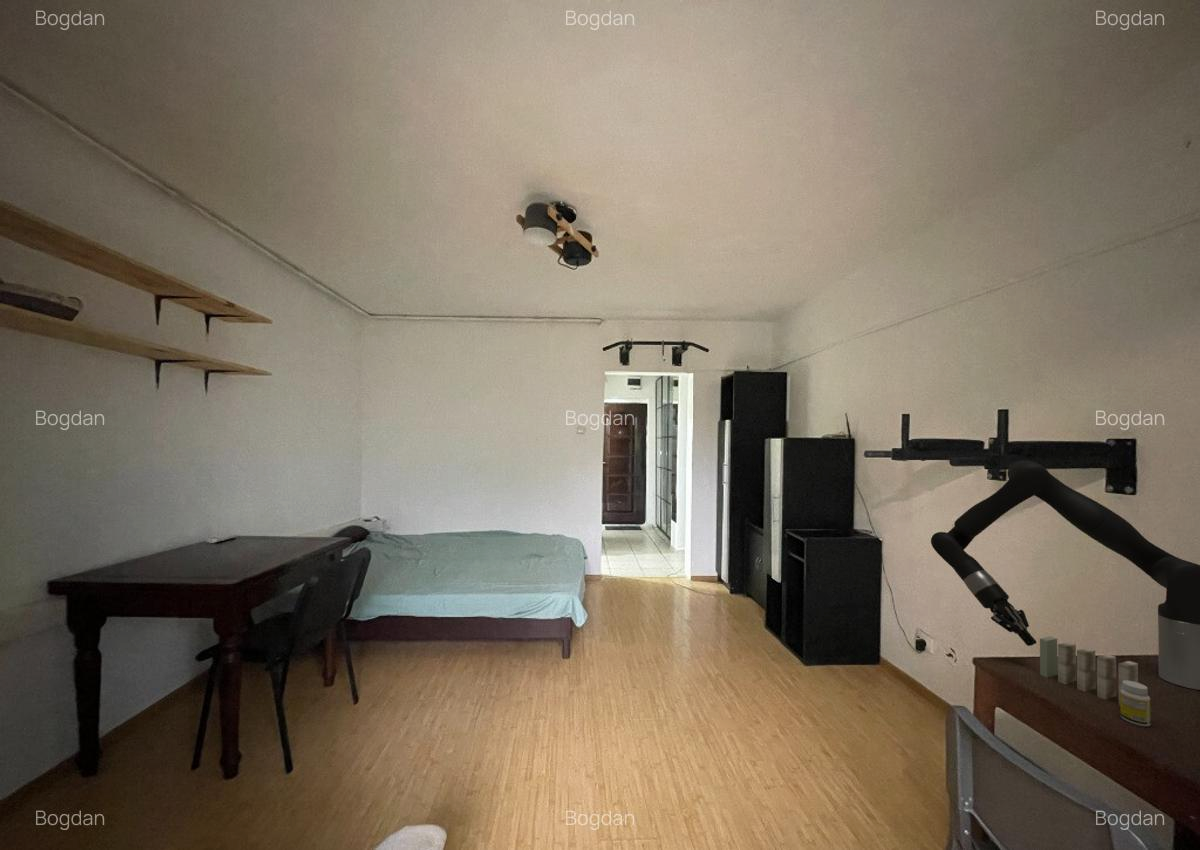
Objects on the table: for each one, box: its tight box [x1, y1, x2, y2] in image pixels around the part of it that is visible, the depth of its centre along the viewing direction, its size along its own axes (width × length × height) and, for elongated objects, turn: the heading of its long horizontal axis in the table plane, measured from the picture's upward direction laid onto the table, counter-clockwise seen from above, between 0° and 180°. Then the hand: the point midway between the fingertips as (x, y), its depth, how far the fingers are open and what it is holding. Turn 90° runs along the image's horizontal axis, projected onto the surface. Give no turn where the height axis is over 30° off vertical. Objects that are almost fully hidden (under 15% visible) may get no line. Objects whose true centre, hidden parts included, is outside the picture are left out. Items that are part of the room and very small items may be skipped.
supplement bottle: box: [1119, 680, 1152, 727], centre depth 112 cm, size 5×5×8 cm
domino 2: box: [1057, 641, 1077, 685], centre depth 131 cm, size 5×2×10 cm, turn 112°
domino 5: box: [1117, 660, 1139, 706], centre depth 120 cm, size 5×2×10 cm, turn 112°
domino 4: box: [1096, 653, 1117, 700], centre depth 124 cm, size 5×2×10 cm, turn 112°
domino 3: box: [1076, 647, 1097, 693], centre depth 127 cm, size 5×2×10 cm, turn 112°
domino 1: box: [1039, 636, 1058, 679], centre depth 135 cm, size 5×2×10 cm, turn 112°
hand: (1032, 644), depth 138 cm, fingers closed
